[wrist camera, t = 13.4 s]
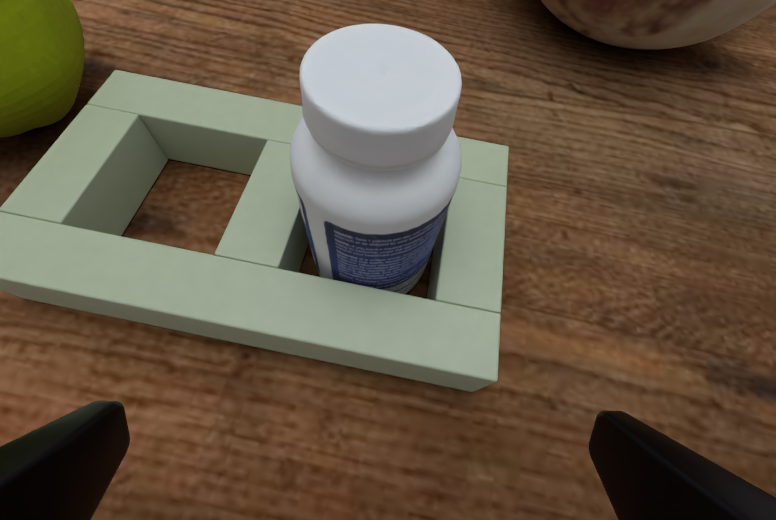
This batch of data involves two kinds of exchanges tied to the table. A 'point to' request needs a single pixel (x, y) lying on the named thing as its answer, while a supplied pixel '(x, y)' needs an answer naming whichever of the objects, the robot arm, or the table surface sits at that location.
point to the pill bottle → (376, 152)
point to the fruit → (38, 63)
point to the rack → (246, 240)
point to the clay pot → (655, 20)
